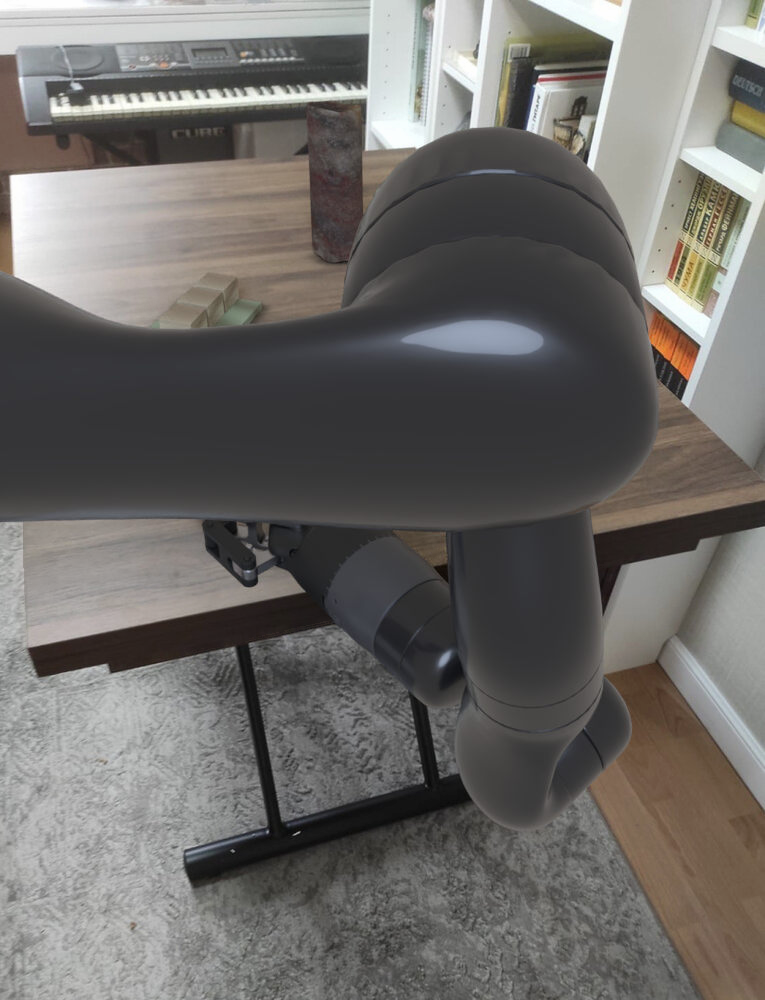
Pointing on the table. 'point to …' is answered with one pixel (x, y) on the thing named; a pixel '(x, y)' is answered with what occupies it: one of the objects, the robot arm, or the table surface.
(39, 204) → the table surface
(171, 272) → the table surface
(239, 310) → the green block tray
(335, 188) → the dark stone core sample
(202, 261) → the table surface
